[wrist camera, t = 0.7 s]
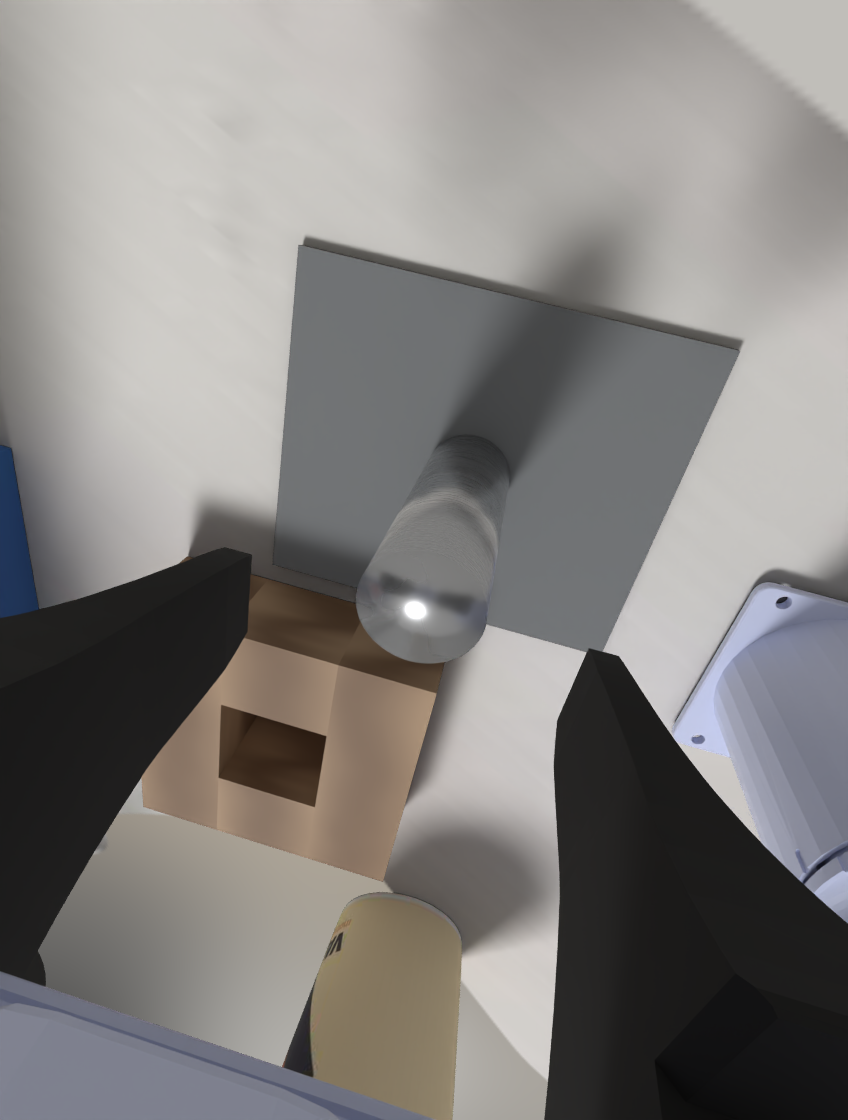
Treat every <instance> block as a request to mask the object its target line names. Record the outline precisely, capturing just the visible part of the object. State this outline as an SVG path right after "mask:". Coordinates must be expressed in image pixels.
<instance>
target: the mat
mask: <svg viewBox="0 0 848 1120" xmlns="http://www.w3.org/2000/svg"><path fill="white" fill-rule="evenodd" d="M739 353H740V351H739V350H736V349H732V348H728V347H724V346H720V345H716V344H711V343H707V342H703V341H699V340H695V339H691V338H686V337H682V336H678V335H674V334H670V333H666V332H662V331H657V330H653V329H649V328H645V327H641V326H637V325H632V324H628V323H624V322H620V321H616V320H612V319H607V318H603V317H599V316H595V315H591V314H587V313H583V312H578V311H574V310H570V309H566V308H562V307H558V306H553V305H549V304H545V303H541V302H537V301H533V300H528V299H524V298H520V297H516V296H512V295H508V294H503V293H499V292H495V291H491V290H487V289H483V288H479V287H474V286H470V285H466V284H462V283H458V282H454V281H449V280H445V279H441V278H437V277H433V276H429V275H424V274H420V273H416V272H412V271H408V270H404V269H400V268H395V267H391V266H387V265H383V264H379V263H375V262H370V261H366V260H362V259H358V258H354V257H350V256H345V255H341V254H337V253H333V252H329V251H325V250H321V249H316V248H312V247H308V246H304V245H298V258H297V270H296V282H295V295H294V307H293V319H292V332H291V344H290V356H289V369H288V381H287V393H286V406H285V418H284V430H283V442H282V455H281V467H280V479H279V492H278V504H277V516H276V529H275V541H274V553H273V565H276V566H280V567H283V568H287V569H291V570H294V571H298V572H301V573H305V574H308V575H312V576H316V577H319V578H323V579H326V580H330V581H334V582H337V583H341V584H344V585H348V586H351V587H355V588H358V584H359V582H360V580H361V577H362V576H363V574H364V572H365V570H366V569H367V567H368V565H369V563H370V562H371V560H372V558H373V556H374V555H375V553H376V551H377V549H378V548H379V546H380V544H381V542H382V541H383V539H384V537H385V535H386V534H387V532H388V530H389V528H390V527H391V525H392V523H393V521H394V520H395V518H396V516H397V514H398V513H399V511H400V509H401V507H402V506H403V504H404V502H405V500H406V499H407V497H408V495H409V493H410V492H411V490H412V488H413V486H414V485H415V483H416V481H417V479H418V478H419V476H420V474H421V472H422V471H423V469H424V467H425V465H426V463H427V462H428V460H429V458H430V456H431V455H432V453H433V452H434V450H435V449H436V448H437V447H438V446H439V445H440V444H441V443H442V442H444V441H445V440H447V439H449V438H451V437H454V436H458V435H465V434H469V435H477V436H480V437H483V438H485V439H488V440H489V441H491V442H492V443H494V444H495V445H496V446H497V447H498V448H499V449H500V450H501V451H502V453H503V454H504V456H505V458H506V460H507V462H508V465H509V470H510V480H509V487H508V493H507V499H506V505H505V511H504V518H503V524H502V530H501V536H500V542H499V548H498V555H497V561H496V567H495V573H494V579H493V586H492V592H491V598H490V604H489V610H488V617H487V622H486V624H487V625H491V626H495V627H498V628H502V629H505V630H509V631H512V632H516V633H520V634H523V635H527V636H530V637H534V638H538V639H541V640H545V641H548V642H552V643H555V644H559V645H563V646H566V647H570V648H573V649H577V650H580V651H584V652H587V651H588V649H589V648H591V649H594V650H598V651H603V649H604V647H605V645H606V643H607V641H608V638H609V636H610V634H611V632H612V630H613V627H614V625H615V623H616V621H617V619H618V617H619V614H620V612H621V610H622V608H623V606H624V603H625V601H626V599H627V597H628V595H629V593H630V590H631V588H632V586H633V584H634V582H635V579H636V577H637V575H638V573H639V571H640V569H641V566H642V564H643V562H644V560H645V558H646V555H647V553H648V551H649V549H650V547H651V545H652V542H653V540H654V538H655V536H656V534H657V532H658V529H659V527H660V525H661V523H662V521H663V518H664V516H665V514H666V512H667V510H668V508H669V505H670V503H671V501H672V499H673V497H674V494H675V492H676V490H677V488H678V486H679V484H680V481H681V479H682V477H683V475H684V473H685V470H686V468H687V466H688V464H689V462H690V460H691V457H692V455H693V453H694V451H695V449H696V446H697V444H698V442H699V440H700V438H701V436H702V433H703V431H704V429H705V427H706V425H707V422H708V420H709V418H710V416H711V414H712V412H713V409H714V407H715V405H716V403H717V401H718V398H719V396H720V394H721V392H722V390H723V388H724V385H725V383H726V381H727V379H728V377H729V374H730V372H731V370H732V368H733V366H734V364H735V361H736V359H737V357H738V355H739Z"/></svg>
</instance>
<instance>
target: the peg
mask: <svg viewBox="0 0 848 1120" xmlns="http://www.w3.org/2000/svg"><path fill="white" fill-rule="evenodd" d="M509 480H510V470H509V465H508V462H507V460H506V458H505V456H504V454H503V453H502V451H501V450H500V449H499V448H498V447H497V446H496V445H495V444H494V443H492V442H491V441H489V440H488V439H485V438H483V437H480V436H477V435H469V434H465V435H458V436H454V437H451V438H449V439H447V440H445V441H444V442H442V443H441V444H440V445H439V446H438V447H437V448H436V449H435V450H434V452H433V453H432V455H431V456H430V458H429V460H428V462H427V463H426V465H425V467H424V469H423V471H422V472H421V474H420V476H419V478H418V479H417V481H416V483H415V485H414V486H413V488H412V490H411V492H410V493H409V495H408V497H407V499H406V500H405V502H404V504H403V506H402V507H401V509H400V511H399V513H398V514H397V516H396V518H395V520H394V521H393V523H392V525H391V527H390V528H389V530H388V532H387V534H386V535H385V537H384V539H383V541H382V542H381V544H380V546H379V548H378V549H377V551H376V553H375V555H374V556H373V558H372V560H371V562H370V563H369V565H368V567H367V569H366V570H365V572H364V574H363V576H362V577H361V580H360V582H359V584H358V588H357V592H356V608H357V613H358V616H359V619H360V621H361V623H362V625H363V627H364V629H365V630H366V632H367V633H368V635H369V636H370V637H371V638H372V639H373V640H374V641H375V642H376V643H377V644H378V645H379V646H381V647H382V648H383V649H385V650H386V651H388V652H389V653H391V654H393V655H395V656H397V657H399V658H402V659H405V660H408V661H412V662H416V663H427V664H433V663H442V662H447V661H450V660H453V659H456V658H458V657H460V656H462V655H464V654H465V653H467V652H468V651H469V650H470V649H472V648H473V647H474V646H475V645H476V643H477V642H478V641H479V639H480V638H481V636H482V634H483V632H484V629H485V626H486V622H487V617H488V610H489V604H490V598H491V592H492V586H493V579H494V573H495V567H496V561H497V555H498V548H499V542H500V536H501V530H502V524H503V518H504V511H505V505H506V499H507V493H508V487H509Z"/></svg>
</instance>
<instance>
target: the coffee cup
mask: <svg viewBox="0 0 848 1120" xmlns="http://www.w3.org/2000/svg"><path fill="white" fill-rule="evenodd" d="M461 958H462V942H461V936H460V933H459V931H458V929H457V927H456V926H455V924H454V923H453V922H452V921H451V919H449V918H448V917H447V916H446V915H445V914H444V913H443V912H441V911H440V910H438V909H437V908H435V907H433V906H432V905H430V904H428V903H426V902H424V901H421V900H419V899H416V898H413V897H410V896H406V895H402V894H396V893H380V892H377V893H369V894H365V895H361V896H359V897H357V898H355V899H353V900H351V901H350V902H349V903H348V904H347V905H346V907H345V908H344V909H343V911H342V914H341V916H340V918H339V921H338V923H337V926H336V928H335V931H334V933H333V936H332V938H331V940H330V943H329V946H328V948H327V951H326V953H325V956H324V959H323V962H322V964H321V966H320V969H319V972H318V974H317V977H316V979H315V982H314V985H313V988H312V990H311V993H310V995H309V998H308V1001H307V1003H306V1006H305V1008H304V1011H303V1013H302V1016H301V1019H300V1021H299V1024H298V1027H297V1029H296V1032H295V1034H294V1037H293V1039H292V1042H291V1045H290V1047H289V1050H288V1053H287V1055H286V1058H285V1061H284V1063H283V1066H282V1067H283V1068H286V1069H289V1070H292V1071H294V1072H297V1073H300V1074H303V1075H306V1076H309V1077H312V1078H315V1079H318V1080H321V1081H324V1082H327V1083H330V1084H333V1085H336V1086H339V1087H341V1088H344V1089H347V1090H350V1091H353V1092H356V1093H359V1094H362V1095H365V1096H368V1097H371V1098H374V1099H377V1100H380V1101H383V1102H386V1103H389V1104H391V1105H394V1106H397V1107H400V1108H403V1109H406V1110H409V1111H412V1112H415V1113H418V1114H421V1115H424V1116H427V1117H430V1118H433V1119H436V1120H452V1117H453V1103H454V1085H455V1068H456V1050H457V1031H458V1015H459V997H460V980H461Z"/></svg>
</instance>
